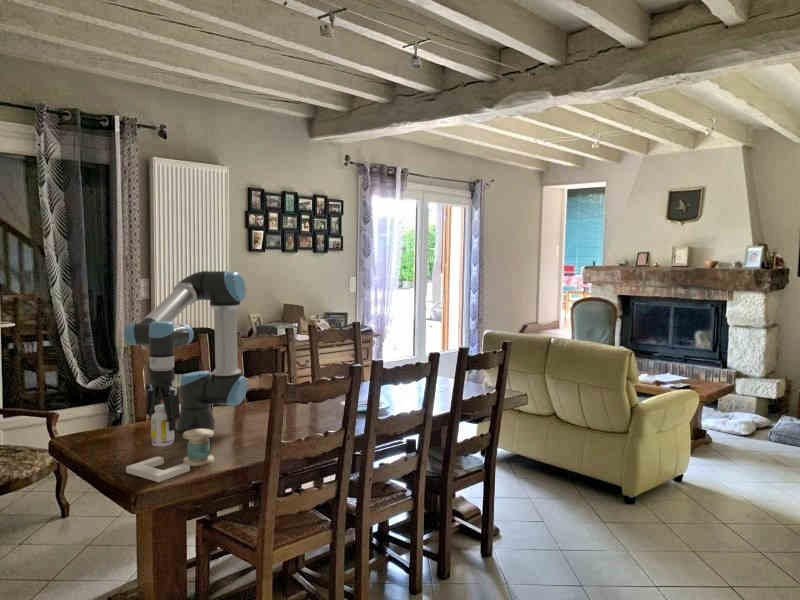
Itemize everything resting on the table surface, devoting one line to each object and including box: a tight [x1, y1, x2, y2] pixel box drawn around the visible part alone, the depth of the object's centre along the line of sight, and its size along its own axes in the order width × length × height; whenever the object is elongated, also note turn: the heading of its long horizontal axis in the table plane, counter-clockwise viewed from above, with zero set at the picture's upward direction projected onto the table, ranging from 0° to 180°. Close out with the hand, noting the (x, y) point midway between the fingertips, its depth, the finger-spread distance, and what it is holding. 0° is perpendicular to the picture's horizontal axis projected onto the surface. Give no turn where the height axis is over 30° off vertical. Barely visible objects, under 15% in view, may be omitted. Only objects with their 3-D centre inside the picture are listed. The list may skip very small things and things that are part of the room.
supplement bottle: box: [150, 403, 174, 447], centre depth 195 cm, size 7×7×13 cm
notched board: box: [125, 456, 191, 483], centre depth 194 cm, size 12×16×2 cm
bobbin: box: [182, 429, 215, 467], centre depth 205 cm, size 10×10×10 cm
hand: (162, 438), depth 195 cm, fingers closed on supplement bottle, 7 cm apart
